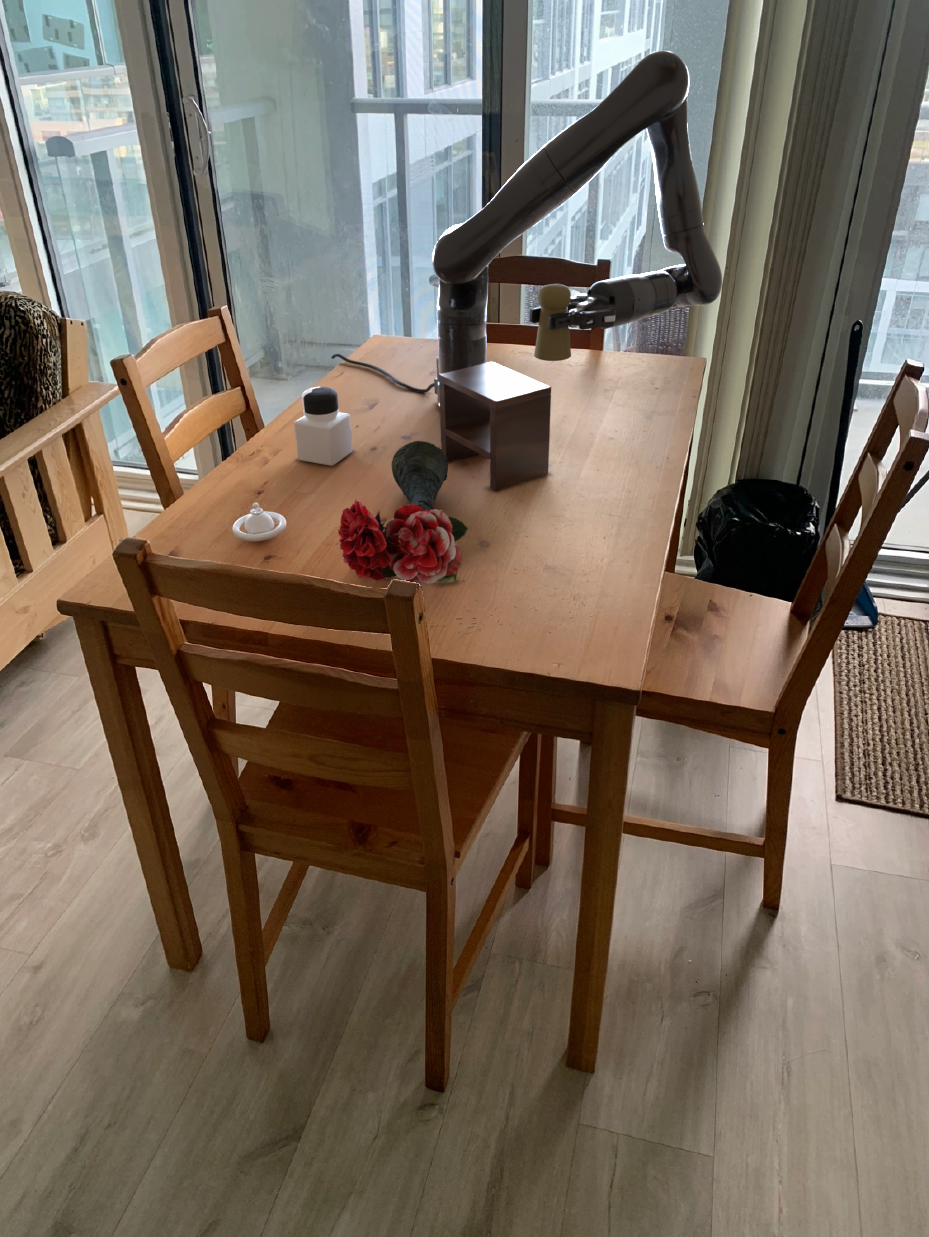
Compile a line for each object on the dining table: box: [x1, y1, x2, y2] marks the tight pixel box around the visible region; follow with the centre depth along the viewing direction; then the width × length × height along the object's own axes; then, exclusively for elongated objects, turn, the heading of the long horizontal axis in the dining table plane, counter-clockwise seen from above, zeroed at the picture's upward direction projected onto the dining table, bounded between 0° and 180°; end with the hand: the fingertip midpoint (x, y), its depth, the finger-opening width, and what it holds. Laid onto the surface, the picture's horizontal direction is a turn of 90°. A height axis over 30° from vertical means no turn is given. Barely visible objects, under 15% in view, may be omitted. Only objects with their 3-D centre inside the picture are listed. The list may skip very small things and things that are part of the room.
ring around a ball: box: [232, 502, 287, 542], centre depth 139 cm, size 8×6×8 cm
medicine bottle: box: [293, 386, 354, 467], centre depth 162 cm, size 7×7×12 cm
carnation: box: [337, 440, 469, 586], centre depth 135 cm, size 16×18×35 cm
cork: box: [533, 283, 572, 362], centre depth 149 cm, size 6×6×11 cm
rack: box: [439, 361, 552, 492], centre depth 156 cm, size 16×11×15 cm
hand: (540, 319), depth 148 cm, fingers closed on cork, 4 cm apart
